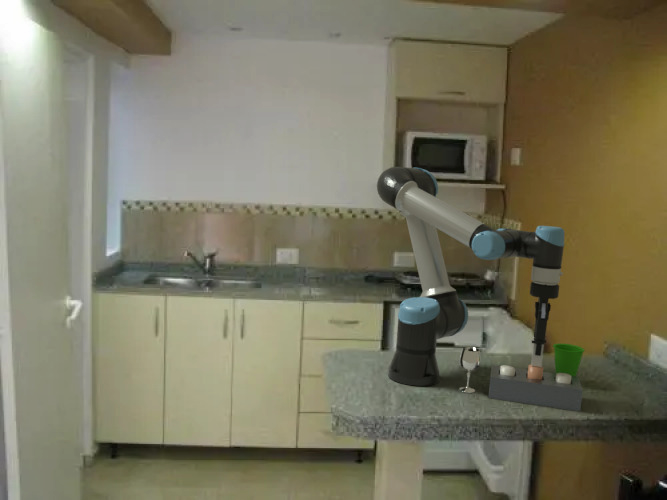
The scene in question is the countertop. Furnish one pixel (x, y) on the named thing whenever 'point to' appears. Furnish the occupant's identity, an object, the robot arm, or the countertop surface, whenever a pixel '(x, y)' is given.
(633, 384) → the countertop surface
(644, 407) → the countertop surface
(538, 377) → the plug terracotta
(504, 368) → the white plug
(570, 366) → the cup
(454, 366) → the countertop surface
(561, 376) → the white plug
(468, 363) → the wineglass
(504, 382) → the grey socket block
